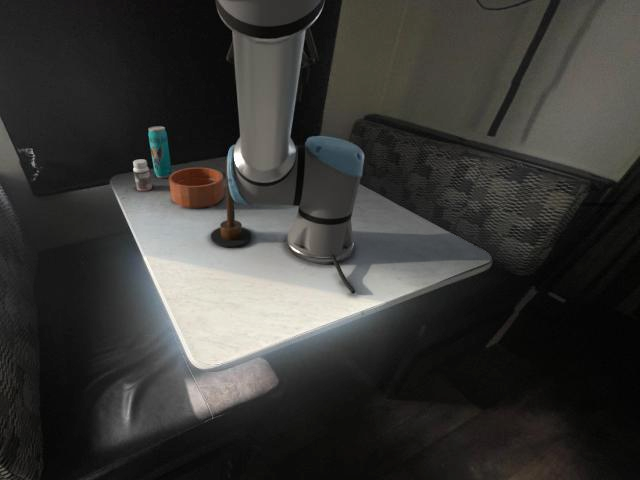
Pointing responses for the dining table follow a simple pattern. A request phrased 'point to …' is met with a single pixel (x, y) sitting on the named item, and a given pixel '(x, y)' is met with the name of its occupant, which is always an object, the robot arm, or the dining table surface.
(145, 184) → the pill bottle
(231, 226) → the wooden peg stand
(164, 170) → the beverage can
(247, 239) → the disc
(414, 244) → the dining table surface
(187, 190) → the bowl
